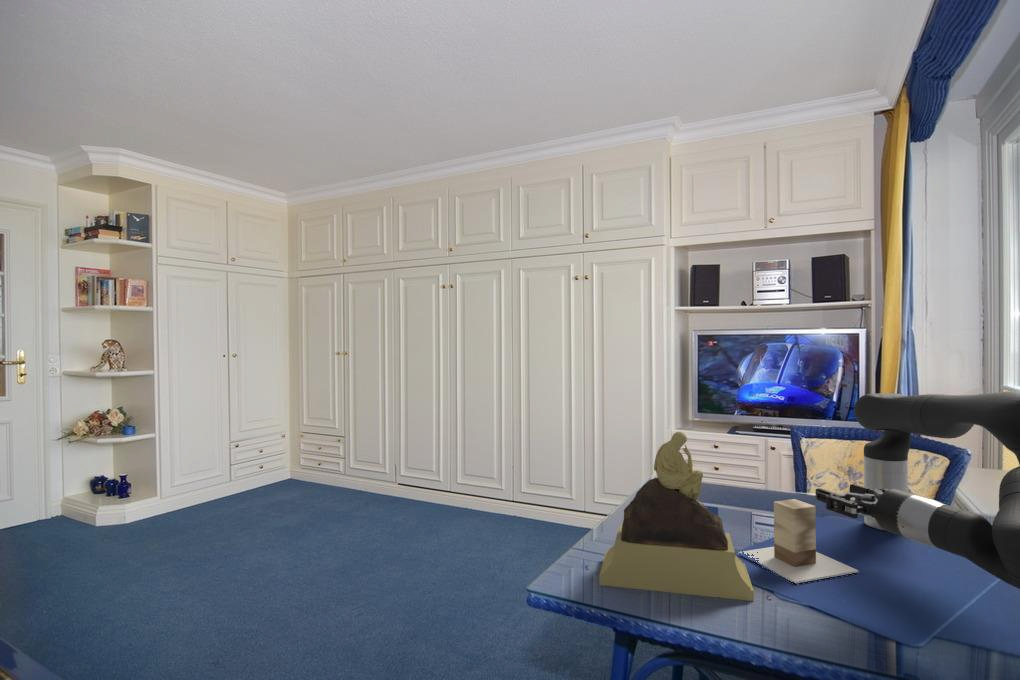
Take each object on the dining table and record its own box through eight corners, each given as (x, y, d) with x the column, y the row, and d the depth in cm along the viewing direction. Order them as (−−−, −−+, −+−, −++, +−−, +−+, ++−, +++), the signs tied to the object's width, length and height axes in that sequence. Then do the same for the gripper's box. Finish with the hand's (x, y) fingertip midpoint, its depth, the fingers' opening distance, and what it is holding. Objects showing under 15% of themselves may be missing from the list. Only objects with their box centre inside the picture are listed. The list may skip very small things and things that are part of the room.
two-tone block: (815, 506, 119) (815, 563, 119) (794, 498, 124) (794, 553, 124) (794, 509, 117) (794, 567, 117) (773, 501, 122) (774, 557, 122)
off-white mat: (796, 545, 130) (796, 542, 130) (858, 573, 115) (858, 570, 115) (738, 554, 125) (738, 552, 125) (795, 584, 110) (795, 581, 110)
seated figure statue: (744, 573, 116) (743, 427, 116) (753, 601, 104) (752, 438, 104) (606, 560, 124) (604, 423, 124) (599, 585, 111) (597, 433, 111)
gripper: (883, 545, 93) (805, 514, 109) (946, 534, 97) (862, 506, 113) (883, 500, 93) (805, 475, 108) (946, 491, 97) (862, 468, 113)
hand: (834, 491), depth 111 cm, fingers open, 8 cm apart
